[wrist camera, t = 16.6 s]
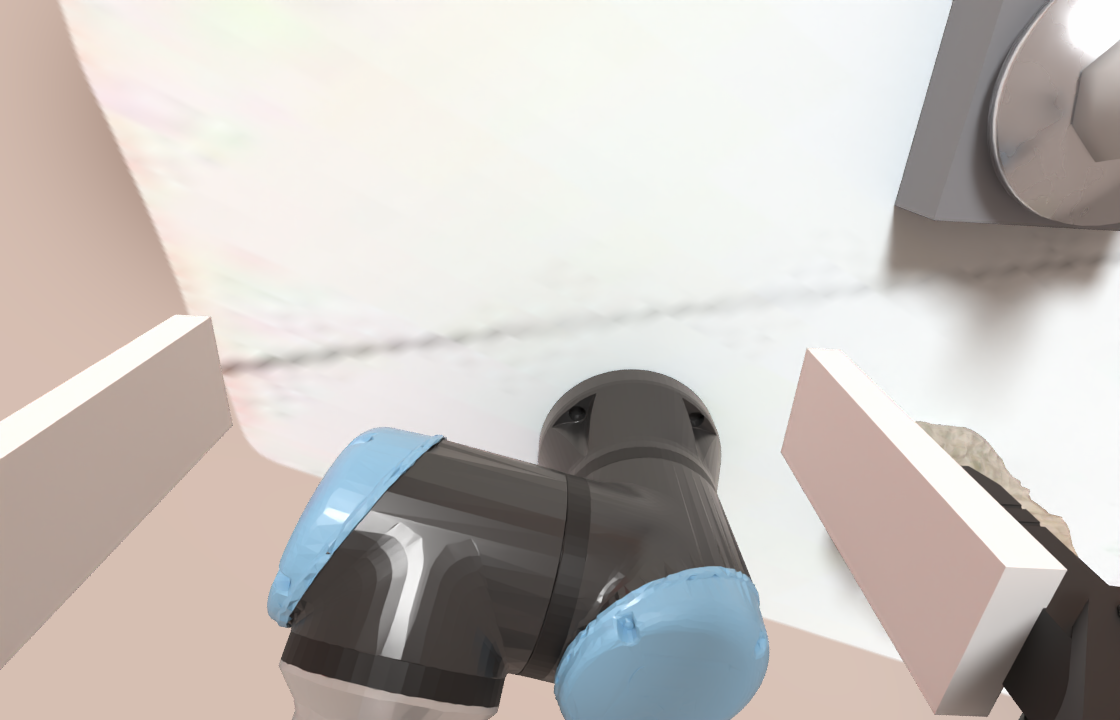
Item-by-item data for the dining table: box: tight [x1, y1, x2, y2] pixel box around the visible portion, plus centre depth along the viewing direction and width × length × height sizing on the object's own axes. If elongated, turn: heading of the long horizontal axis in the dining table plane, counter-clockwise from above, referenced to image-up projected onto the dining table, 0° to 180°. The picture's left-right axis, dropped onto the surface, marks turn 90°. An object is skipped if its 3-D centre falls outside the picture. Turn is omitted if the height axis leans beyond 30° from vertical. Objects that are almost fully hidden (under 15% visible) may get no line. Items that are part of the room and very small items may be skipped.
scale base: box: [895, 0, 1120, 231], centre depth 37 cm, size 16×16×6 cm
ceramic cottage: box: [915, 421, 1078, 557], centre depth 48 cm, size 16×16×15 cm
